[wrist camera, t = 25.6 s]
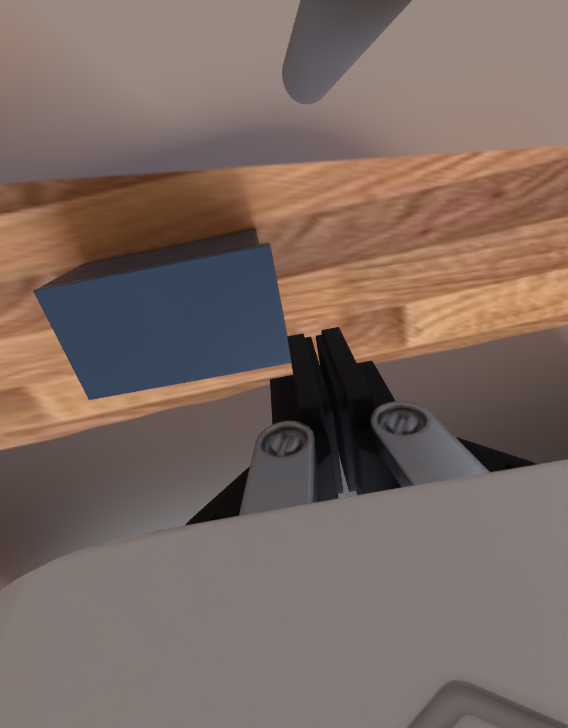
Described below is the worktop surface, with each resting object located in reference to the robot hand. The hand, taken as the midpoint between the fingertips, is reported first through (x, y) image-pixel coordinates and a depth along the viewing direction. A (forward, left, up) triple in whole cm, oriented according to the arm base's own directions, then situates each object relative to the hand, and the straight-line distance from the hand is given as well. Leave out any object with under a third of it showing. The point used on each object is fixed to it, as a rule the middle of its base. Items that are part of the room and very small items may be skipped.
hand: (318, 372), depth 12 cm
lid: (+2, -9, -16) cm, 18 cm away
